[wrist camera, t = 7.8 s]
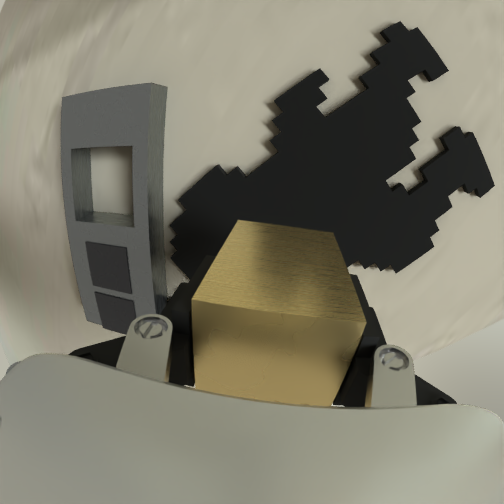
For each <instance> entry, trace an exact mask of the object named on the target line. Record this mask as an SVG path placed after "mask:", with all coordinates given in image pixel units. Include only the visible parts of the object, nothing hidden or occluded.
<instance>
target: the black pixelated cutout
mask: <svg viewBox="0 0 504 504" xmlns="http://www.w3.org/2000/svg"><path fill="white" fill-rule="evenodd" d="M380 34H381V35H382V36H383V38H384V39H385V40H386V41H387V42H388V43H387V44H385V45H384V46H382V47H380V48H379V49H377V50H375V51H373V52H372V53H371V54H370V56H371V57H372V58H373V59H374V61H375V62H376V63H377V64H378V66H376V67H375V68H373V69H371V70H370V71H368V72H367V73H365V74H363V75H362V76H360V77H359V79H360V81H361V82H362V83H363V85H364V86H365V87H366V88H367V89H366V90H365V91H363V92H362V93H360V94H359V95H357V96H356V97H354V98H353V99H351V100H350V101H349V102H347V103H346V104H344V105H343V106H341V107H340V108H338V109H337V110H335V111H334V112H333V113H331V114H330V115H328V116H327V117H324V116H323V114H322V113H321V112H320V111H319V109H318V108H317V107H316V106H318V105H319V104H320V103H322V102H323V101H325V100H326V99H327V97H326V96H325V95H324V94H323V92H322V91H321V90H320V89H319V87H320V86H322V85H323V84H324V83H326V82H327V81H329V78H328V77H327V76H326V75H325V74H324V72H323V71H322V70H321V69H318V70H317V71H315V72H314V73H312V74H311V75H309V76H308V77H306V78H305V79H303V80H302V81H301V82H299V83H298V84H296V85H295V86H294V87H292V88H291V89H289V90H288V91H287V92H285V93H284V94H282V95H281V96H280V97H278V98H277V99H276V100H274V102H275V103H276V104H277V105H278V106H279V108H280V109H281V110H282V111H283V113H281V114H280V115H279V116H277V117H276V118H275V119H273V120H272V121H273V123H274V124H275V125H276V126H277V127H278V128H279V130H280V131H281V132H280V133H279V134H278V135H276V136H275V137H274V138H273V139H271V140H270V142H271V143H272V144H273V145H274V146H275V148H276V149H277V150H278V151H279V152H278V153H276V154H275V155H274V156H273V157H271V158H270V159H269V160H267V161H266V162H265V163H264V164H262V165H261V166H260V167H258V168H257V169H256V170H255V171H253V172H252V173H251V174H250V175H248V176H246V175H245V174H244V173H243V172H242V170H241V169H240V168H239V167H238V166H237V167H236V168H235V169H234V170H232V171H231V172H230V173H229V174H228V175H227V173H226V172H225V171H224V170H223V169H222V168H221V166H220V165H217V166H215V167H214V168H213V169H212V170H211V171H210V172H209V173H207V174H206V175H205V176H204V177H203V178H202V179H201V180H199V181H198V182H197V183H196V184H195V185H194V186H193V187H192V188H191V189H189V190H188V191H187V192H186V193H185V194H184V195H183V196H182V197H181V198H180V199H179V200H178V201H179V202H180V203H181V204H182V205H183V206H184V208H185V209H186V211H185V212H184V213H183V214H181V215H180V216H179V217H178V218H177V219H176V220H175V221H174V222H173V223H172V224H171V225H170V226H171V228H172V229H173V230H174V231H175V232H176V233H177V234H178V235H177V236H176V237H174V238H173V239H172V240H171V241H170V243H171V244H172V245H173V246H174V247H175V248H176V249H177V252H175V253H174V254H173V255H172V256H171V259H172V260H173V261H174V262H175V264H176V265H177V266H178V267H179V268H180V269H181V270H182V271H183V272H184V273H185V274H186V276H187V277H188V278H189V279H190V280H191V278H192V277H193V275H194V274H195V272H196V270H197V269H198V267H199V266H200V264H201V263H202V261H203V260H204V258H205V257H206V255H209V256H217V255H218V253H219V251H220V250H221V248H222V246H223V245H224V243H225V241H226V239H227V238H228V236H229V234H230V233H231V231H232V229H233V228H234V226H235V224H236V223H237V221H238V220H244V221H252V222H260V223H268V224H275V225H283V226H291V227H298V228H305V229H312V230H319V231H326V232H333V234H334V236H335V239H336V241H337V243H338V246H339V248H340V251H341V253H342V256H343V259H344V261H345V264H346V266H347V267H349V266H350V265H352V264H353V263H355V262H356V261H358V260H359V261H360V263H361V265H362V266H363V268H364V269H366V268H367V267H369V266H370V265H372V264H373V263H376V265H377V266H378V268H379V270H380V271H382V270H384V269H385V268H387V267H388V266H390V265H391V266H392V268H393V270H394V271H395V273H397V272H399V271H400V270H402V269H403V268H405V267H406V266H408V265H409V264H411V263H412V262H414V261H415V260H416V259H418V258H419V257H421V256H422V255H423V254H425V253H426V252H428V251H429V250H430V249H432V248H433V247H434V245H433V243H432V240H431V238H430V237H431V236H432V235H434V234H435V233H436V232H438V231H439V229H438V227H437V224H436V222H435V220H436V219H437V218H439V217H440V216H441V215H442V214H444V213H445V212H446V211H448V210H449V209H450V208H452V205H451V202H450V200H449V198H448V196H449V195H450V194H452V193H453V192H454V191H456V190H457V189H458V188H459V187H461V186H463V189H464V191H465V192H466V193H468V194H469V193H471V192H472V191H473V190H474V191H475V194H476V196H478V197H480V198H481V197H482V196H483V195H484V194H486V193H487V192H488V191H489V190H490V189H491V188H493V187H494V186H495V185H494V182H493V179H492V177H491V174H490V171H489V169H488V166H487V164H486V161H485V159H484V156H483V154H482V152H481V149H480V147H479V145H478V142H477V140H476V138H475V136H474V134H473V132H468V133H466V134H465V135H464V134H463V132H462V130H461V128H460V127H456V126H455V127H454V128H453V129H451V130H450V131H449V132H447V133H446V134H444V135H443V136H442V137H440V138H439V139H440V140H441V142H442V144H443V146H444V148H445V150H444V151H442V152H441V153H440V154H438V155H437V156H436V157H434V158H433V159H431V160H430V161H429V162H427V163H426V164H425V165H423V166H422V167H421V168H419V170H420V172H421V174H422V176H423V178H424V181H422V182H421V183H419V184H418V185H417V186H415V187H414V188H413V189H411V190H410V191H408V192H407V191H406V189H405V188H404V186H403V184H401V183H398V184H397V185H396V186H394V187H393V188H391V189H390V187H389V185H388V184H387V182H386V180H387V179H389V178H390V177H391V176H393V175H394V174H396V173H397V172H398V171H400V170H401V169H403V168H404V167H405V166H407V165H408V164H409V163H411V162H412V161H414V160H415V159H416V158H415V156H414V154H413V152H412V151H411V149H410V146H411V145H413V144H414V143H416V142H417V141H418V140H419V139H418V138H417V136H416V134H415V133H414V131H413V129H412V128H413V127H415V126H416V125H417V124H419V123H420V122H421V120H420V119H419V117H418V116H417V114H416V112H415V111H414V109H413V108H412V106H411V105H410V103H409V101H408V100H407V97H409V96H410V95H412V94H413V93H415V90H414V89H413V87H412V86H411V85H410V83H409V82H408V80H409V79H411V78H412V77H414V76H415V75H417V74H419V73H420V72H423V73H424V75H425V76H426V78H427V79H428V81H429V82H430V81H433V80H435V79H436V78H438V77H440V76H441V75H443V74H444V73H446V72H448V71H449V70H448V69H447V67H446V66H445V64H444V63H443V61H442V60H441V58H440V57H439V55H438V54H437V53H436V51H435V50H434V48H433V47H432V46H431V44H430V43H429V42H428V40H427V39H426V38H425V36H424V35H423V34H422V32H421V31H420V30H419V29H418V27H417V28H415V29H413V30H411V31H408V30H407V28H406V27H405V26H404V25H403V24H402V23H401V21H400V22H398V23H396V24H394V25H392V26H390V27H388V28H386V29H384V30H382V31H381V32H380ZM168 302H169V301H168ZM168 302H167V303H168ZM166 305H167V304H166Z"/></svg>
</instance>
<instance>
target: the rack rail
mask: <svg viewBox="0 0 504 504" xmlns="http://www.w3.org/2000/svg"><path fill="white" fill-rule="evenodd" d="M166 97H167V87H165V86H162V85H158V84H154V83H145V84H135V85H127V86H120V87H113V88H107V89H101V90H95V91H90V92H85V93H80V94H75V95H70V96H66V97H62V110H61V169H62V185H63V197H64V207H65V216H66V223H67V230H68V237H69V243H70V249H71V255H72V260H73V265H74V270H75V275H76V279H77V284H78V288H79V292H80V296H81V300H82V304H83V308H84V312H85V315H86V319H87V321H90V322H93V323H96V324H99V325H102V326H103V328H105V329H108V330H111V331H115V332H118V333H122V334H125V335H127V332H128V329H129V326H130V324H131V323H132V321H133V320H135V319H136V318H138V317H140V316H142V315H146V314H158V315H160V314H161V312H162V311H163V309H164V308H165V306H166V304H167V302H168V301H167V289H166V274H165V257H164V233H163V150H164V127H165V111H166ZM108 146H133V150H132V179H133V210H134V215H126V214H116V213H105V212H94V211H93V202H92V187H91V162H90V147H108Z"/></svg>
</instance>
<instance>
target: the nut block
mask: <svg viewBox="0 0 504 504" xmlns="http://www.w3.org/2000/svg"><path fill="white" fill-rule="evenodd" d="M366 323H367V322H366V319H365V316H364V313H363V310H362V307H361V305H360V302H359V299H358V296H357V293H356V290H355V288H354V285H353V282H352V280H351V277H350V274H349V272H348V269H347V266H346V264H345V261H344V259H343V256H342V253H341V251H340V248H339V246H338V243H337V241H336V239H335V236H334V234H333V232H326V231H319V230H312V229H305V228H298V227H291V226H283V225H275V224H268V223H260V222H252V221H244V220H238V221H237V223H236V224H235V226H234V228H233V229H232V231H231V233H230V234H229V236H228V238H227V239H226V241H225V243H224V245H223V246H222V248H221V250H220V251H219V253H218V255H217V256H216V258H215V260H214V261H213V263H212V265H211V267H210V268H209V270H208V272H207V273H206V275H205V277H204V279H203V280H202V282H201V284H200V286H199V287H198V289H197V291H196V292H195V294H194V296H193V298H192V331H193V353H194V371H195V386H196V389H200V390H205V391H210V392H215V393H220V394H226V395H232V396H238V397H244V398H251V399H258V400H265V401H273V402H282V403H292V404H304V405H318V406H331V405H332V403H333V401H334V399H335V397H336V395H337V392H338V390H339V388H340V386H341V384H342V382H343V379H344V377H345V375H346V373H347V370H348V368H349V366H350V363H351V361H352V358H353V356H354V354H355V351H356V349H357V346H358V344H359V341H360V339H361V336H362V333H363V331H364V328H365V325H366Z"/></svg>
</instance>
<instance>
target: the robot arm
mask: <svg viewBox="0 0 504 504" xmlns="http://www.w3.org/2000/svg"><path fill="white" fill-rule="evenodd" d="M215 258H216V256H209V255H206V257H205V258H204V260H203V261H202V263H201V264H200V266H199V267H198V269H197V270H196V272H195V274H194V275H193V277H192V278H191V280H190V281H189V283H184V282H183V283H181V284H180V285H179V287H178V288H177V290H176V291H175V293H174V294H173V296H172V297H171V299H170V300H169V302H168V303H167V305H166V306H165V308H164V309H163V311H162V312H161V314H160V315H158V314H146V315H142V316H140V317H138V318H136V319H135V320H133V321H132V323H131V324H130V326H129V329H128V332H127V335H126V336H123V337H120V338H116V339H113V340H109V341H105V342H102V343H98V344H95V345H91V346H87V347H83V348H80V349H77V350H75V351H73V352H71V353H70V354H69V355H65V354H52V353H45V354H36V355H32V356H29V357H27V358H25V359H24V360H22V361H19V362H16V363H14V364H12V365H11V366H10V367H9V368H8V369H7V372H6V375H5V376H4V377H3V379H2V380H1V381H0V504H504V423H503V422H502V420H501V419H500V418H499V416H497V415H496V414H495V413H494V412H491V411H490V410H487V409H485V408H481V407H477V406H473V405H464V404H457V403H456V401H455V400H454V399H452V398H451V397H450V396H448V395H446V394H445V393H443V392H442V391H440V390H439V389H437V388H435V387H434V386H432V385H431V384H429V383H428V382H426V381H424V380H423V379H421V378H420V377H418V376H417V375H415V374H414V364H413V360H412V357H411V356H410V354H409V353H408V352H407V351H405V350H404V349H402V348H400V347H398V346H395V345H387V344H386V341H385V338H384V335H383V332H382V330H381V327H380V324H379V322H378V319H377V316H376V314H375V311H374V309H373V308H372V307H369V305H368V302H367V300H366V297H365V294H364V292H363V289H362V287H361V284H360V282H359V279H358V277H357V275H353V274H350V277H351V280H352V282H353V285H354V288H355V290H356V293H357V296H358V299H359V302H360V305H361V307H362V310H363V313H364V316H365V319H366V322H367V323H366V325H365V328H364V331H363V333H362V336H361V339H360V341H359V344H358V346H357V349H356V351H355V354H354V356H353V358H352V361H351V363H350V366H349V368H348V370H347V373H346V375H345V377H344V379H343V382H342V384H341V386H340V388H339V390H338V392H337V395H336V397H335V399H334V401H333V405H343V406H345V407H337V406H318V405H304V404H292V403H282V402H273V401H265V400H258V399H251V398H244V397H238V396H232V395H226V394H220V393H215V392H210V391H205V390H200V389H195V388H190V387H186V386H184V385H188V386H194V384H195V371H194V353H193V331H192V298H193V296H194V294H195V292H196V291H197V289H198V287H199V286H200V284H201V282H202V280H203V279H204V277H205V275H206V273H207V272H208V270H209V268H210V267H211V265H212V263H213V261H214V260H215Z"/></svg>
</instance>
